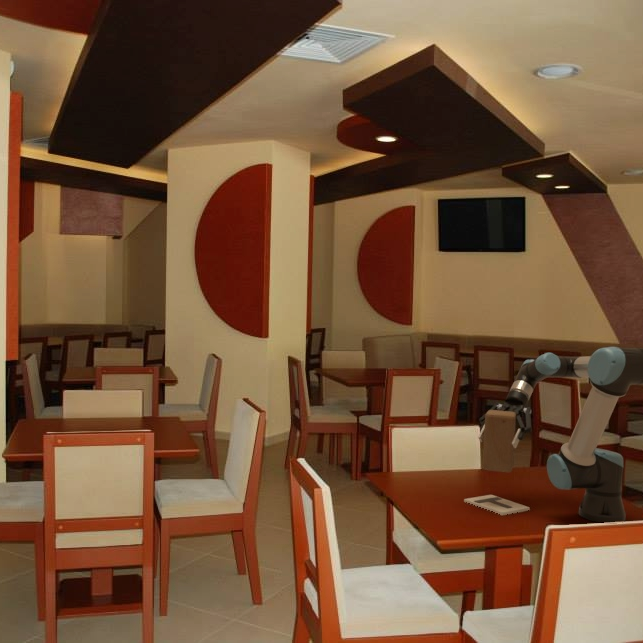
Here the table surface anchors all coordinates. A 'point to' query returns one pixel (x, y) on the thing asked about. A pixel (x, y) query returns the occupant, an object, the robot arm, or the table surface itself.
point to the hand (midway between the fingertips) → (496, 442)
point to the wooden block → (499, 440)
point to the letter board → (497, 504)
